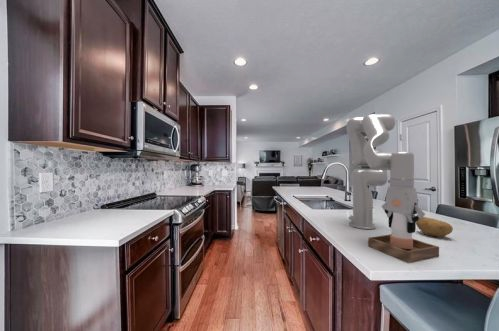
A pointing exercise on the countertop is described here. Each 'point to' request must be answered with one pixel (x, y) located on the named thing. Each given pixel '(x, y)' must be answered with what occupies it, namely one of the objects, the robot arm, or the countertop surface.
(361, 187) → the robot arm
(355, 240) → the countertop surface
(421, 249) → the walnut tray
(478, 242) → the countertop surface
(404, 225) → the pepper shaker
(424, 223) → the potato
